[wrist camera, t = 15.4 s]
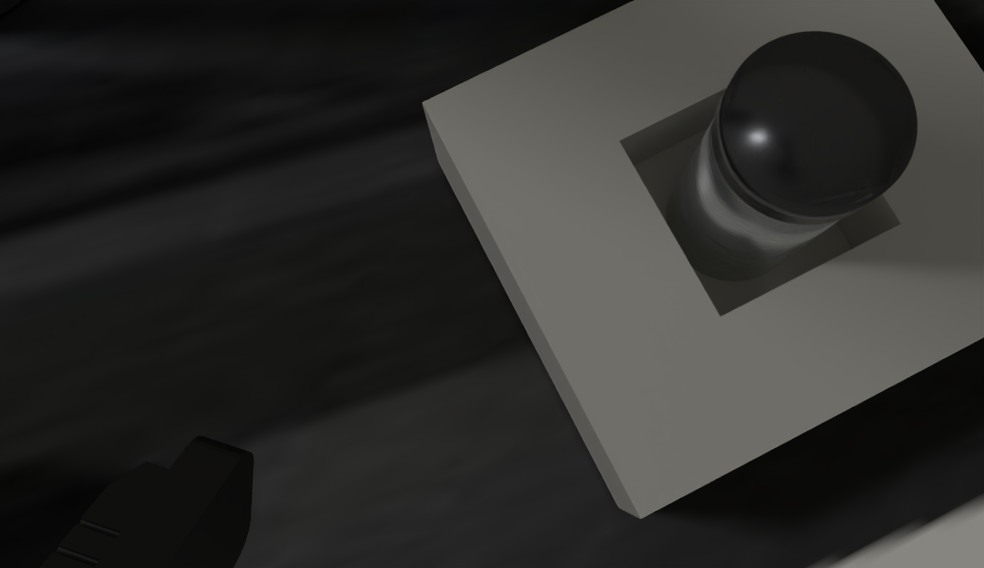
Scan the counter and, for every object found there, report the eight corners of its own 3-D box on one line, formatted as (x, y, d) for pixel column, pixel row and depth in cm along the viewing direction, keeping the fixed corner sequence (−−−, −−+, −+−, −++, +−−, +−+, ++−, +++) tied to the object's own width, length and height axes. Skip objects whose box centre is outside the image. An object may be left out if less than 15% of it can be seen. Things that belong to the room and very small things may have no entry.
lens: (639, 192, 33) (687, 83, 23) (753, 133, 33) (850, 0, 23) (706, 307, 32) (787, 244, 22) (824, 245, 32) (956, 156, 22)
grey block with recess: (438, 161, 35) (422, 102, 29) (803, -17, 36) (858, -109, 31) (618, 507, 32) (640, 519, 26) (1012, 299, 33) (1118, 266, 27)
